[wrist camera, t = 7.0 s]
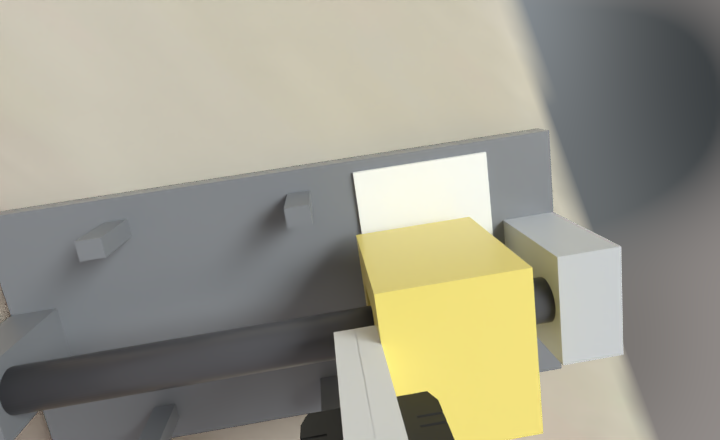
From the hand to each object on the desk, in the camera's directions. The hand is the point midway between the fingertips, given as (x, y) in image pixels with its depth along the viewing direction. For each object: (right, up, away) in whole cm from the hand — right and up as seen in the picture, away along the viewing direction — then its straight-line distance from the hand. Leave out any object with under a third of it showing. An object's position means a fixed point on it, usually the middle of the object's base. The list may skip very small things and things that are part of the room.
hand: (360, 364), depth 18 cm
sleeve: (+3, +2, +5) cm, 6 cm away
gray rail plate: (-3, +2, +7) cm, 8 cm away
